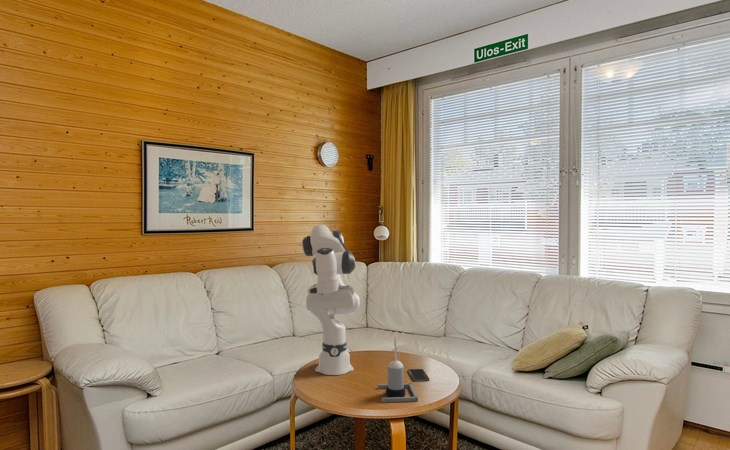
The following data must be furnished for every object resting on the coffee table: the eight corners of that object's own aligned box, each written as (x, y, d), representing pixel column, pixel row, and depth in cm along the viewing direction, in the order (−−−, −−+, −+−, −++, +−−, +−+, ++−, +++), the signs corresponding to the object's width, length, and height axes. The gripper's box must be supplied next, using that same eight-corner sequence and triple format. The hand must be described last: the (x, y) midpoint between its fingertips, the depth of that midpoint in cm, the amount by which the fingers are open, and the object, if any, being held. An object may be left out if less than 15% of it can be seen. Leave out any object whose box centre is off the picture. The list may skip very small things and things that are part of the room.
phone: (413, 380, 210) (407, 369, 225) (413, 382, 210) (407, 371, 225) (429, 379, 211) (423, 368, 226) (429, 381, 211) (423, 371, 226)
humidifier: (383, 391, 198) (383, 334, 197) (401, 390, 200) (402, 333, 199) (389, 399, 190) (389, 339, 189) (407, 397, 192) (407, 338, 191)
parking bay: (377, 387, 202) (377, 384, 202) (411, 386, 204) (411, 383, 204) (381, 402, 187) (381, 398, 187) (417, 401, 188) (417, 397, 188)
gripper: (353, 283, 194) (357, 315, 195) (306, 287, 196) (310, 318, 197) (352, 286, 188) (355, 319, 189) (303, 290, 190) (307, 322, 191)
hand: (332, 318), depth 193 cm, fingers closed
